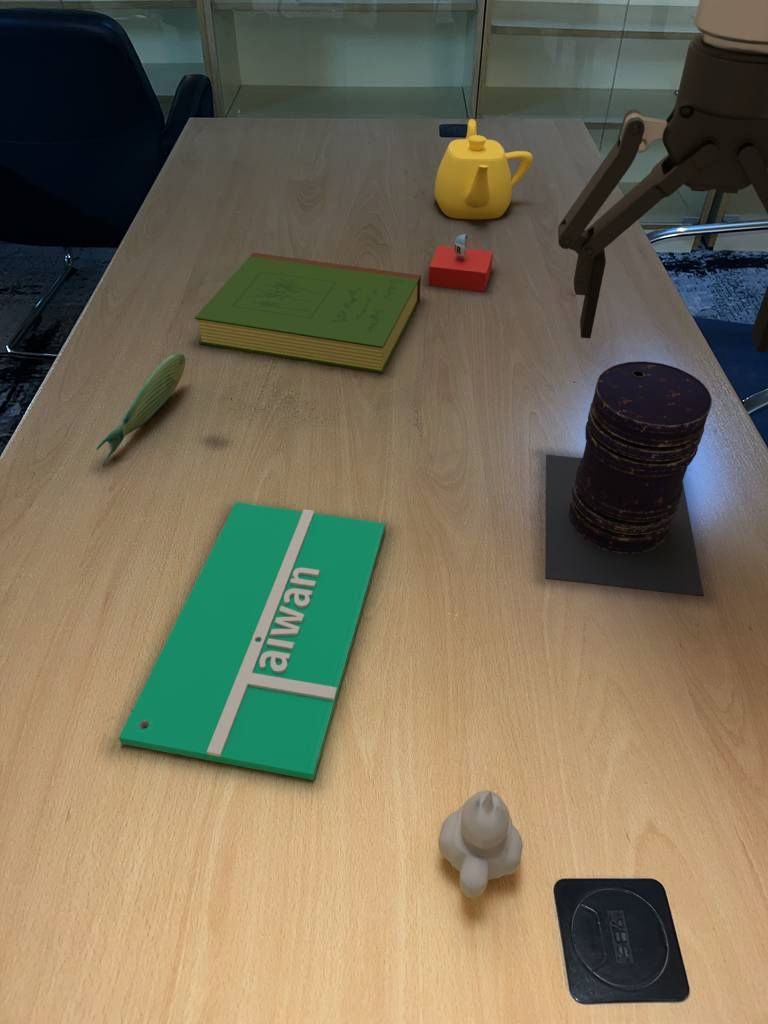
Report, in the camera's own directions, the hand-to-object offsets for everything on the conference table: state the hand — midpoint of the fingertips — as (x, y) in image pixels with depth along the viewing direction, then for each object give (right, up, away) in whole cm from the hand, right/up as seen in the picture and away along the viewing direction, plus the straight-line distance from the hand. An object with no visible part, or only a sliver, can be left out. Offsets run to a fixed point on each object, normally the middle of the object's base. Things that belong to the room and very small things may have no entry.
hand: (670, 336), depth 65 cm
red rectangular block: (-12, +20, +51) cm, 56 cm away
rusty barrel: (0, -15, +14) cm, 21 cm away
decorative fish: (-46, -6, +24) cm, 52 cm away
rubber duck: (-17, -38, -10) cm, 43 cm away
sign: (-33, -24, +4) cm, 41 cm away
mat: (0, -15, +14) cm, 21 cm away
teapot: (-7, +37, +70) cm, 79 cm away
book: (-33, +11, +42) cm, 54 cm away
